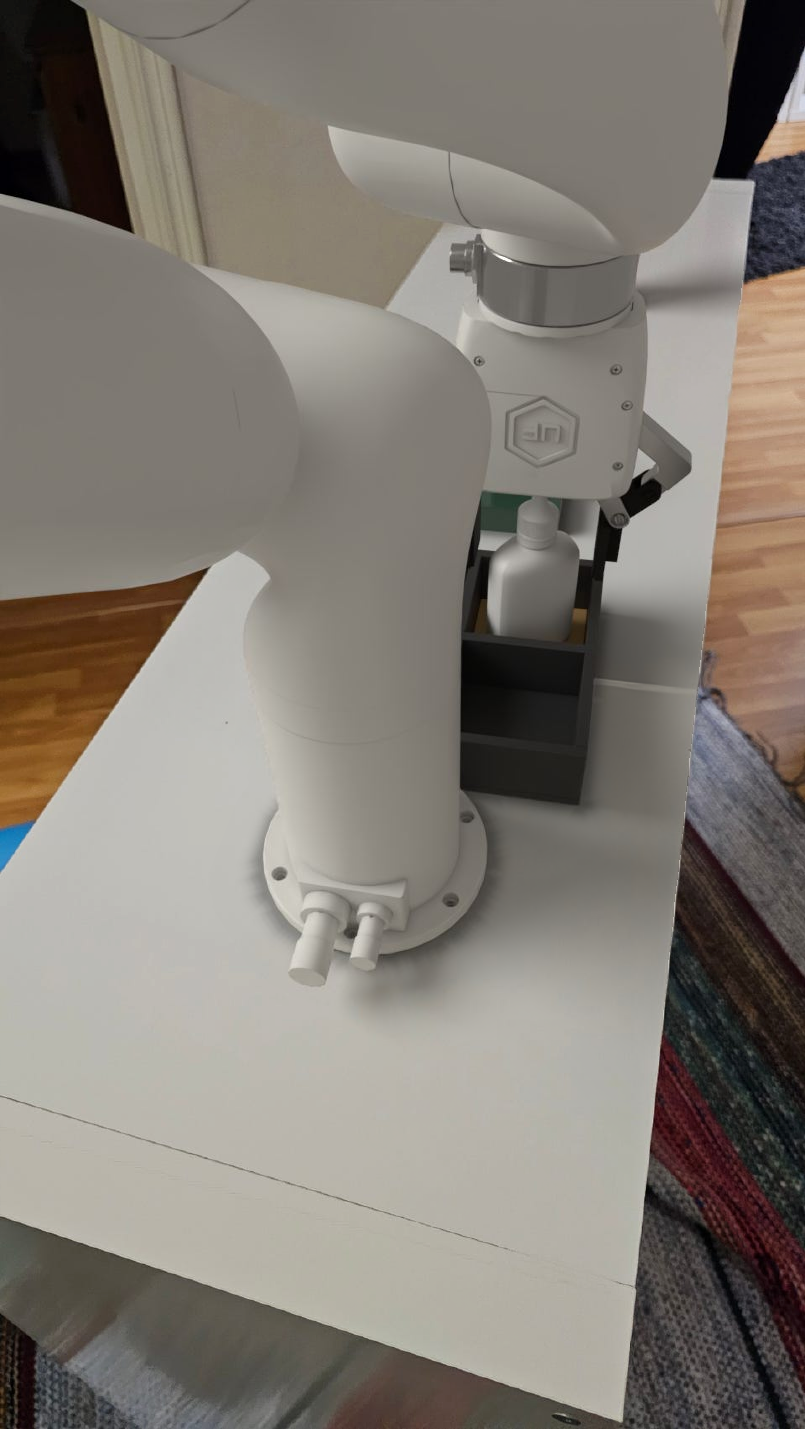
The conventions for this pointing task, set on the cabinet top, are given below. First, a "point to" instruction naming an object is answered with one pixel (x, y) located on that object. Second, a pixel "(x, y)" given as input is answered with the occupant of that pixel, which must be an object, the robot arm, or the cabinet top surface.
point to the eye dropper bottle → (534, 577)
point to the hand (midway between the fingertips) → (534, 559)
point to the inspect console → (505, 510)
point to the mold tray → (526, 698)
